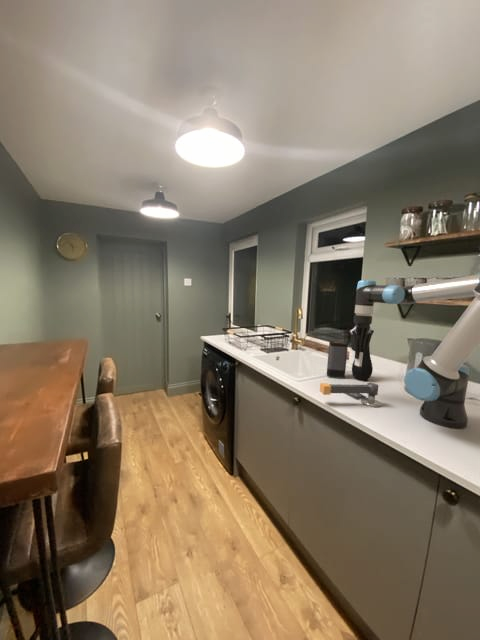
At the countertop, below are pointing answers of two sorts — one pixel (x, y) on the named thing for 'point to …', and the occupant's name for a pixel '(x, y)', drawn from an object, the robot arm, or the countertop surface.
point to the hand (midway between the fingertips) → (358, 365)
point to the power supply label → (356, 395)
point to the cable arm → (348, 388)
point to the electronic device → (337, 359)
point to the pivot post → (370, 401)
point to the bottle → (363, 368)
